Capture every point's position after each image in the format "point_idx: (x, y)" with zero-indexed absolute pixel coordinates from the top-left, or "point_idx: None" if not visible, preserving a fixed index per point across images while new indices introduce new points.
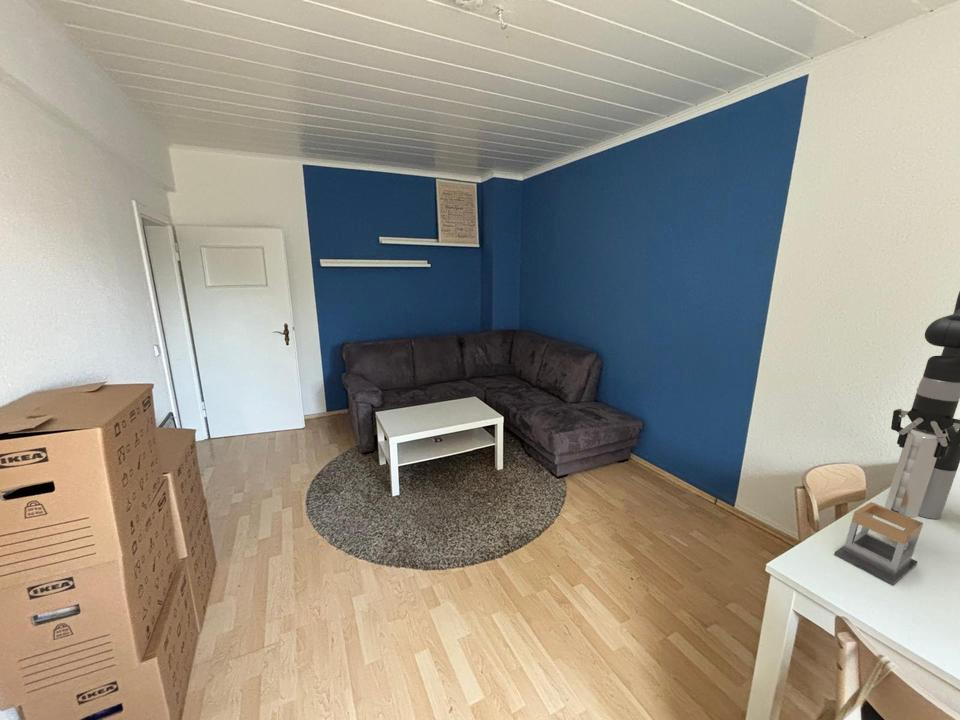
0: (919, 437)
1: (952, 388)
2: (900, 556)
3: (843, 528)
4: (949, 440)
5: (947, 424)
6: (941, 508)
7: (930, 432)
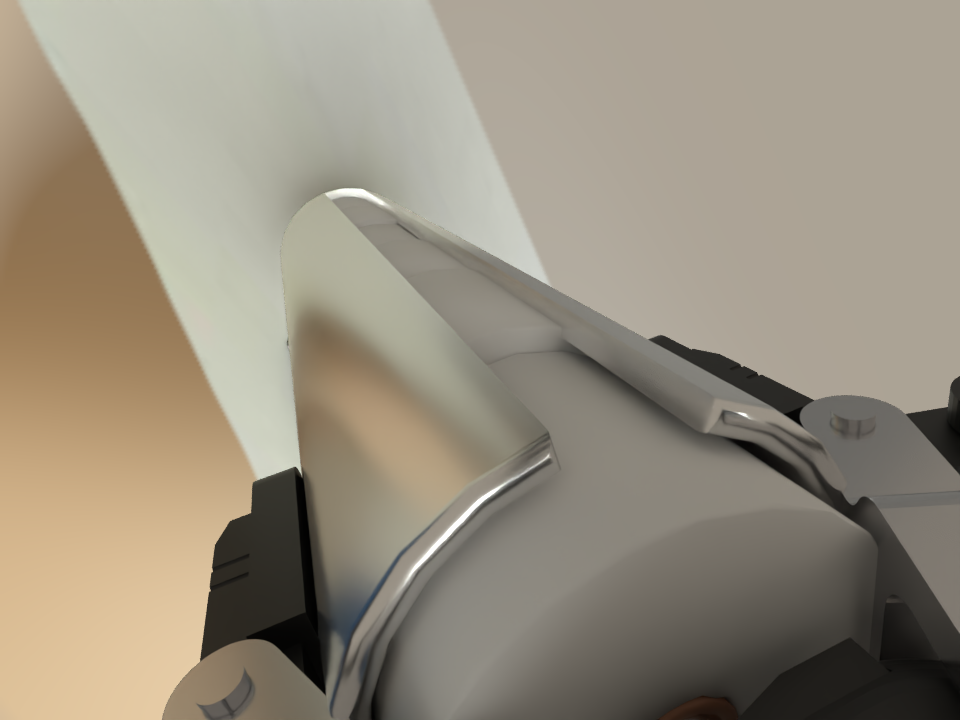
0: None
1: None
2: None
3: (216, 348)
4: (924, 456)
5: None
6: None
7: (741, 684)
